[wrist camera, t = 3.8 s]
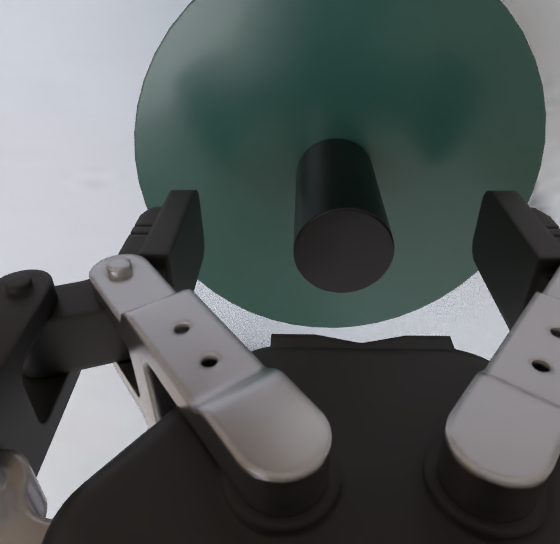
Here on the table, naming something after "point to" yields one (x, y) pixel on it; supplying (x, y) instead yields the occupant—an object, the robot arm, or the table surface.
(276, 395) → the robot arm
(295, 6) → the tin lid
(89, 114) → the table surface
